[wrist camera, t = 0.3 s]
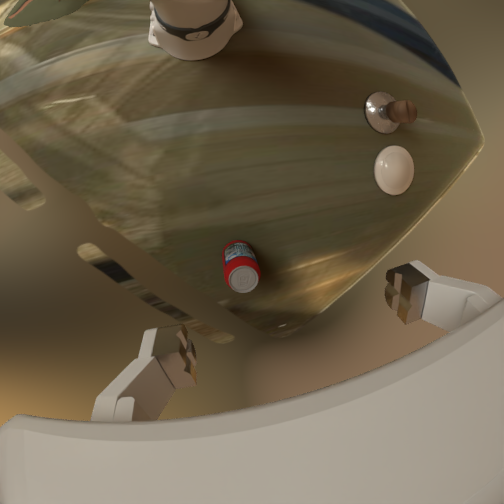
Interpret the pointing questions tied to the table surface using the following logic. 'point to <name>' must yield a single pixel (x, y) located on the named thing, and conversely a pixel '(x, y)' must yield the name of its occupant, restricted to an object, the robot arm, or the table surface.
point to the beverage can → (240, 266)
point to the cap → (401, 111)
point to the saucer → (393, 170)
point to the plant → (40, 11)
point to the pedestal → (379, 112)
